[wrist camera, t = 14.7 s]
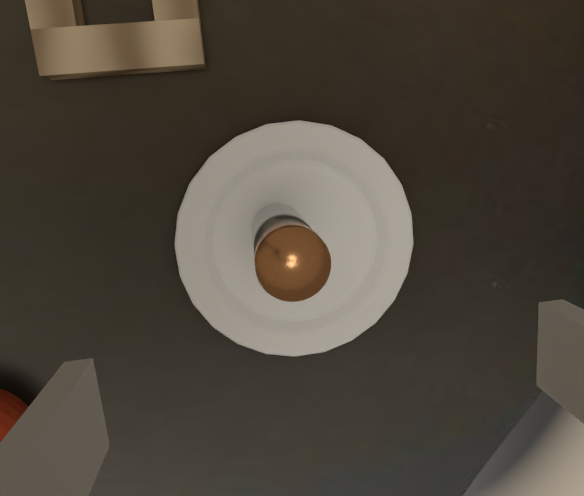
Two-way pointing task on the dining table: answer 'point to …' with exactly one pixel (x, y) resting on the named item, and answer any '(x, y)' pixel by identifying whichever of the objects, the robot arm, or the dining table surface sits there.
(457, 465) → the dining table surface
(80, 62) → the socket block
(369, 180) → the plate
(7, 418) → the tomato
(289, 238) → the clear jar
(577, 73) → the dining table surface
